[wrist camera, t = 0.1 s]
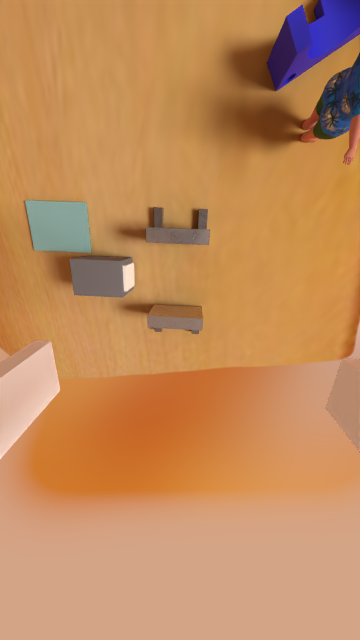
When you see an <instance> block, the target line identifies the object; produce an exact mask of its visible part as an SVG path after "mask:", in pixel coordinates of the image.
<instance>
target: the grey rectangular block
mask: <svg viewBox="0 0 360 640" xmlns="http://www.w3.org/2000/svg"><path fill="white" fill-rule="evenodd" d="M69 260H70V268H71V275H72V282H73V290H74V295H83V296H103V297H122V298H123V297H124V296H125V295H126V294H127V293H129V292H130V291H131V290H132V289H133V286H134V285H135V284H134V263H132V257H110V256H83V257H77V258H71V259H69Z"/></svg>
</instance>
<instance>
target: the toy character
mask: <svg viewBox="0 0 360 640" xmlns="http://www.w3.org/2000/svg"><path fill="white" fill-rule="evenodd" d="M302 128H303V129H306V130H308V129H311V130H310V131H308V132H306V133H304V134H303V135H302V136H301V141H304V142H314V141H316V140H318V139H332V138H336V137H338V136H340V135H342V134H344V133H346V132H347V131H349V130H350V134H349V149H348V151H347V152H346V154H345V156H344V161H343V163H344V162H345V159H346V162H345V164H346V163H347V161H348V163H347V165H350V163H351V160H353V158H354V154H355V152H356V147H357V144H358V141H359V138H360V53H359V55H358V57H357V59H356V61H355V63H354V65H353V66H352V67H350V68H347V69H345V70H343V71H341V72H339V73H337V74H335V75H334V76H333V77H332V78H331V79H330V80H329V81H328V83H327V85H326V86H325V89H324V91H323V93H322V95H321V97H320V99H319V101H318V103H317V105H316V107H315V109H314V111H313V113H312V115H311V117H310V118H309V119H307V120H305V122H304V123H303V125H302Z"/></svg>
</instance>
